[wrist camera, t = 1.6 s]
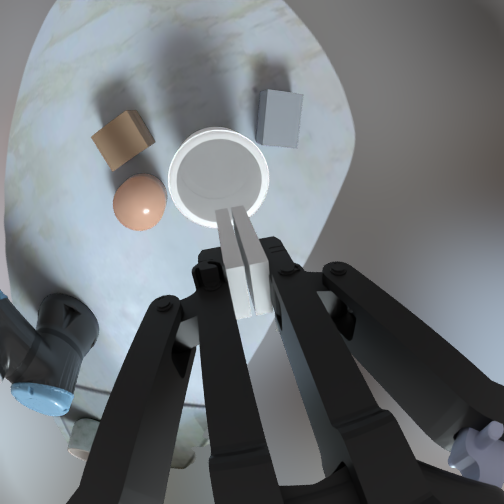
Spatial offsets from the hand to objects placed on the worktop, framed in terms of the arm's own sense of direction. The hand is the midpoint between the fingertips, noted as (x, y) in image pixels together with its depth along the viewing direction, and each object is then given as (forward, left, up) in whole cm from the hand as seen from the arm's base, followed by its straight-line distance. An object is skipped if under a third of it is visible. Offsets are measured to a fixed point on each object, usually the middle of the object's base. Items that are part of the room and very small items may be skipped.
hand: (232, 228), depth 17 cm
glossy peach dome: (-12, -4, -27) cm, 29 cm away
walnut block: (-12, +6, -27) cm, 30 cm away
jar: (0, 0, -27) cm, 27 cm away
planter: (-62, -77, -27) cm, 102 cm away
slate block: (+10, +5, -27) cm, 29 cm away
